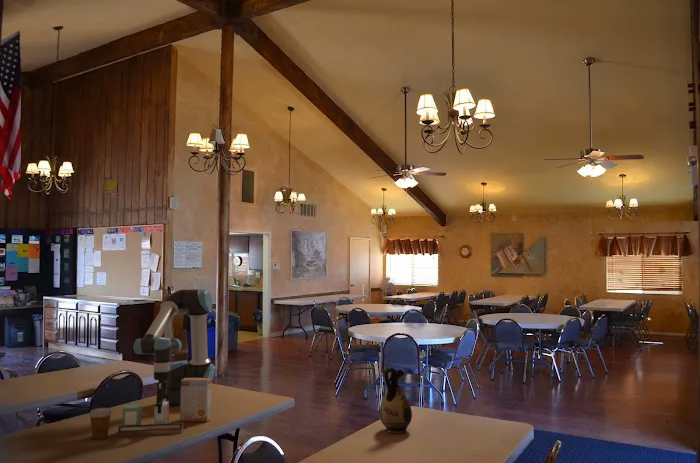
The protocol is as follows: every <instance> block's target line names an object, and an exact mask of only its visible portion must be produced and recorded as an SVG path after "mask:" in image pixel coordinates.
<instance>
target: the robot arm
mask: <svg viewBox="0 0 700 463" xmlns="http://www.w3.org/2000/svg"><path fill="white" fill-rule="evenodd" d="M160 308H161V309H160V310H159V312H158V314H157V315H156V317H155V318H154V320H153V321H152V323H151V325H150V326H149V328H148V330H147V331H146V333H145V334H144V336H143V337H142V338H137V339H135V341H134V343H133V351H134V353H135V354H136V355H153V357H154V358H153V380H154V381H158V382H157V384H156V399H155V400H156V401H155V402H156V403H155V404H154V406H155V407H156V406H157V408H156V421H157V420H163V406H162V405H163V404H162V403H163V402H167V401H169V407H181V380H182V379H184V378H211V383H212V382H213V380H214V376H215V373H216V370H215V369H216V367H215V365H214V364H213V363H212V362H211V358H209V357H208V356H209V355H208V352H209V351H208V330H207V329H208V328H207V327H208V325H207V324H208V323H207V316H208V315H209V314H210V311H211V310H212V309H213V297H212V294H211V293H210V291H209V290H208V289H198V288H197V289H178V290H176V291H174V292H171V294H169V295H168V296H167V297H166V298H165V299H164V301H163V302H162V303H161V306H160ZM181 311H187V314H186V315H187V316H188V317H190V338H191V339H190V340H191V342H190V344H191V359H190V361H188V360H178V361H173V362H171V356H173V355H176V354H178V353H179V352H180V351H181V350H182V348H183V347H182V346H183V344H182V341H181V340H180V339H179V338H173V337H172V338H170V337H163V335H164V333H165V331H166V330H167V328H168V326H169V325H170V323H171V321H172V320H173V318H174V316H176V315H177V314H178V313H179V312H181Z"/></svg>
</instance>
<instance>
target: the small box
mask: <svg viewBox="0 0 700 463" xmlns="http://www.w3.org/2000/svg"><path fill="white" fill-rule="evenodd" d="M162 404H163V405H162V406H163V420H157V421H156V408H157V406H156V407H155V405H154V409H153V410H154V414H153V416H154V418H153V424H168V423H170V420H169V418H170V417H169V416H170V415H169V414H170V406H169V401H167V402H163V403H162Z"/></svg>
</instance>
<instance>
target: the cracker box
mask: <svg viewBox="0 0 700 463" xmlns="http://www.w3.org/2000/svg"><path fill="white" fill-rule="evenodd" d="M211 418H212V382H211V378H184V379H182V380H181V406H180V418H179V420H180V422H187V423H188V422H190V423H191V422H197V423H207V422H209V421H210V420H211Z"/></svg>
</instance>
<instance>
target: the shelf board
mask: <svg viewBox="0 0 700 463" xmlns="http://www.w3.org/2000/svg"><path fill="white" fill-rule="evenodd" d="M184 426H185V423H184V422H169V423H168V424H154V423H150V424H149V423H148V424H141V425H132V426H123V425H119V426H118V432H117V436H118V437H132V436H133V435H136V436H149V435H153V436H154V435H167V434H182V433H183V430H184Z"/></svg>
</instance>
